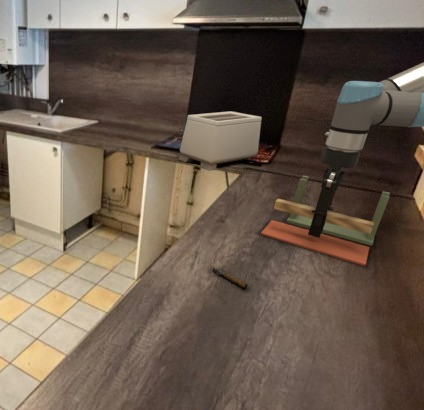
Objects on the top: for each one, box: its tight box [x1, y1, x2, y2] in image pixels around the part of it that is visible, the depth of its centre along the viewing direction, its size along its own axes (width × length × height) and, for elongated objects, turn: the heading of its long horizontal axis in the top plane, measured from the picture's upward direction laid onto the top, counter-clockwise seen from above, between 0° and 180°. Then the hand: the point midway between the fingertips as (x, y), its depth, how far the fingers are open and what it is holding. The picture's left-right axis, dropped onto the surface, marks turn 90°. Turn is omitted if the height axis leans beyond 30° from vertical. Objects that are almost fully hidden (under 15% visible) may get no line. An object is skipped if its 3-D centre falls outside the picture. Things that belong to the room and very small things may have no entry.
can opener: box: [212, 266, 249, 289], centre depth 80 cm, size 9×2×1 cm, turn 29°
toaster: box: [177, 111, 263, 172], centre depth 164 cm, size 19×34×21 cm, turn 119°
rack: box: [285, 175, 391, 247], centre depth 102 cm, size 21×8×14 cm, turn 50°
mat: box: [260, 219, 370, 267], centre depth 97 cm, size 24×11×1 cm, turn 50°
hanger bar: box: [273, 198, 374, 234], centre depth 94 cm, size 22×2×2 cm, turn 50°
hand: (314, 233), depth 96 cm, fingers closed on hanger bar, 2 cm apart
